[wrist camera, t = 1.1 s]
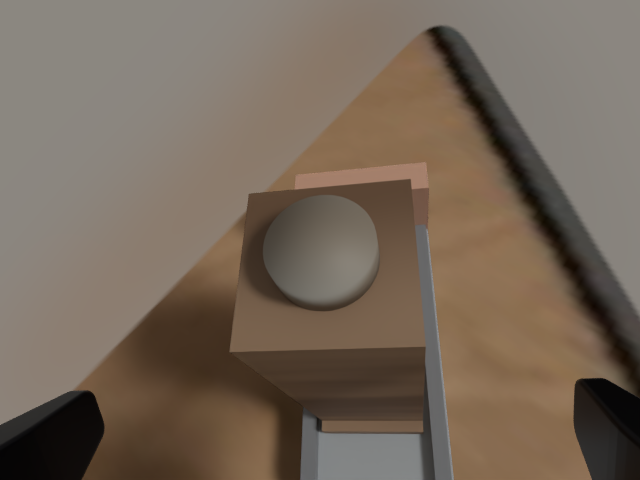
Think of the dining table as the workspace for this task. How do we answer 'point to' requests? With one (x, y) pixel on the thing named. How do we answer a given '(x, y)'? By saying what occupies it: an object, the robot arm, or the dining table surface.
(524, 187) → the dining table surface
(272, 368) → the slider block with knob
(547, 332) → the dining table surface
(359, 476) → the rail
